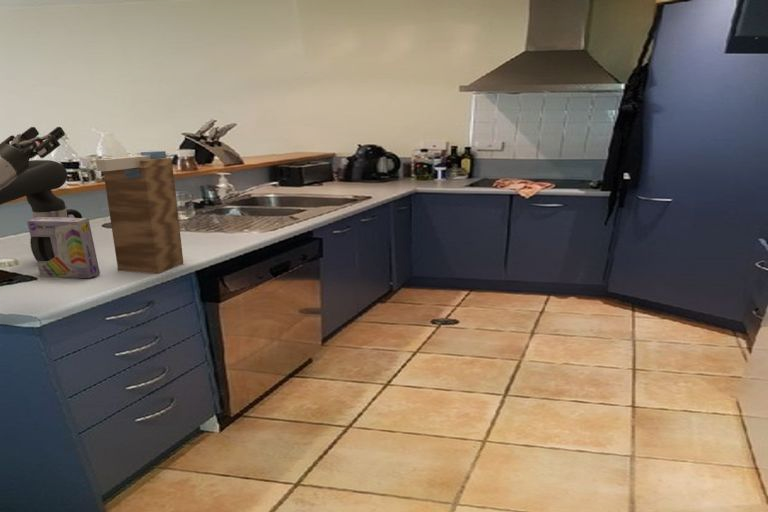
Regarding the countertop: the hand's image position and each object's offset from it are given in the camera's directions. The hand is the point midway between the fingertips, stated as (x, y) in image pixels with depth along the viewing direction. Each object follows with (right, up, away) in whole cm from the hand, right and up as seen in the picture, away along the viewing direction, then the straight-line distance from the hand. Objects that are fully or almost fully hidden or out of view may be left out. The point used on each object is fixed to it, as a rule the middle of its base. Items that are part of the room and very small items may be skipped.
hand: (48, 130), depth 126 cm
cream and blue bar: (+11, -6, +21) cm, 25 cm away
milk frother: (-39, -28, +65) cm, 81 cm away
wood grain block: (+9, -35, +35) cm, 51 cm away
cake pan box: (-12, -38, +27) cm, 48 cm away
